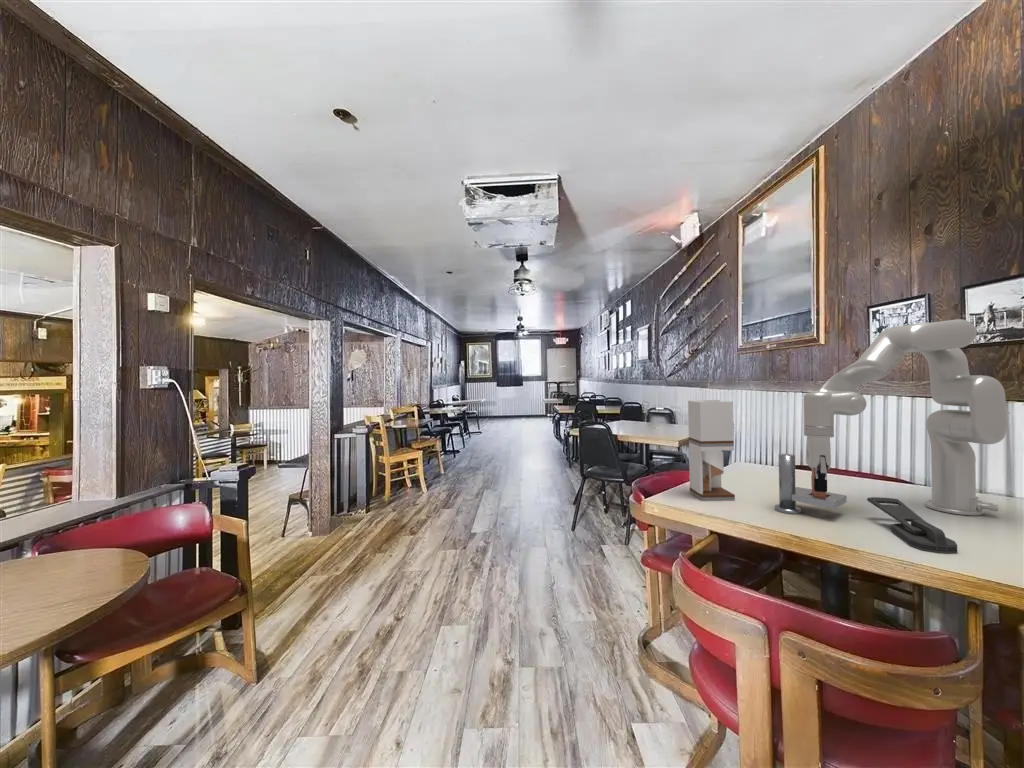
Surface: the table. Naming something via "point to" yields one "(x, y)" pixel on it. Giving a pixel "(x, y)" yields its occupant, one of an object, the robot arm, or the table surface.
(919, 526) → the zipper pull
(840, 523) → the table surface
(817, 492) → the reddish brown rectangular block
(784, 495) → the rosette post
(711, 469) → the white tower model
